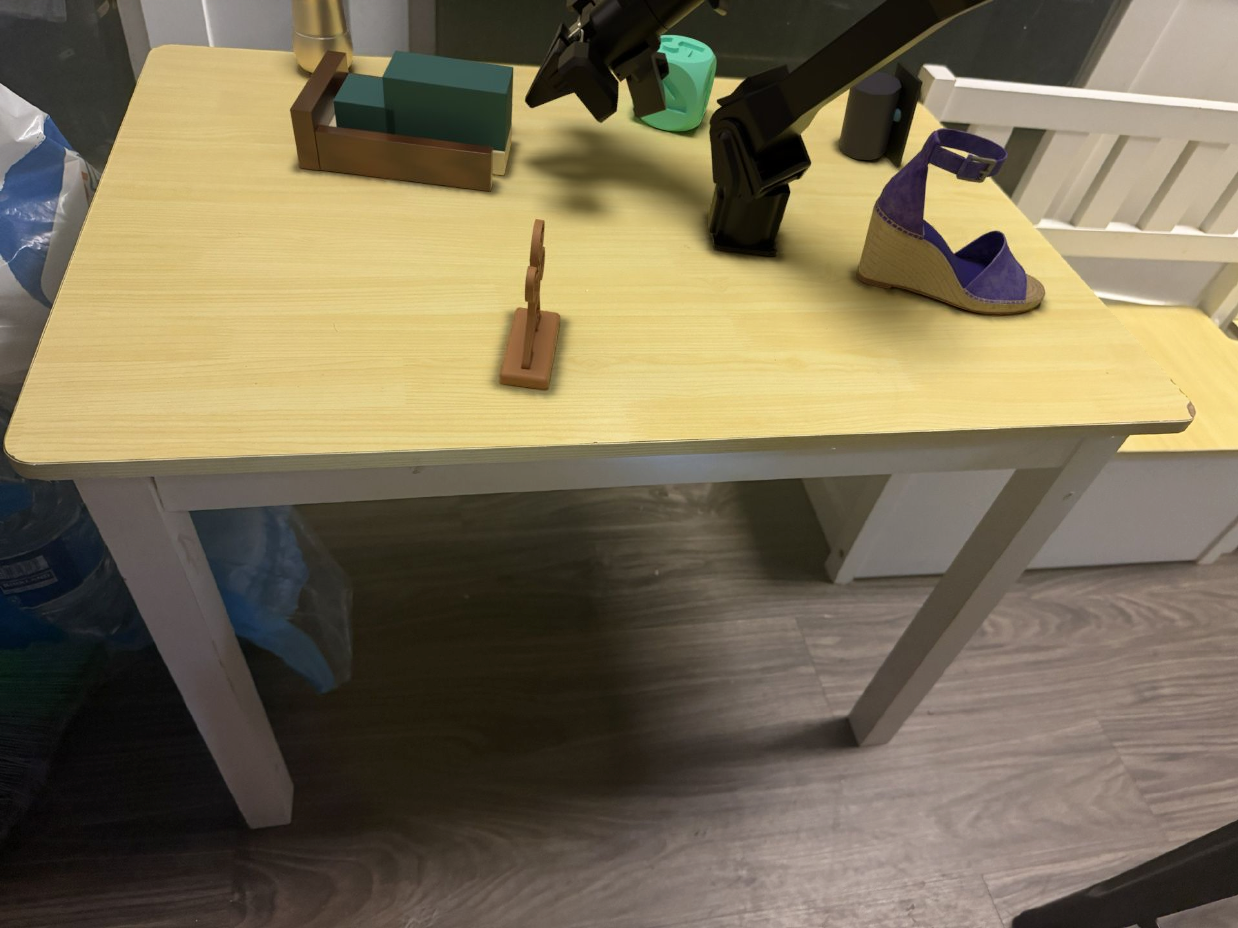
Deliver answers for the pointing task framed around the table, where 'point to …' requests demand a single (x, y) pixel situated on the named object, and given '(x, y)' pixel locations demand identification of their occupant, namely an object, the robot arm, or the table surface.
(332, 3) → the gold rounded cylinder
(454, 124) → the teal stepped block
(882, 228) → the sandal
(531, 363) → the gingerbread man figurine
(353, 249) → the table surface
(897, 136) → the speaker
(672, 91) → the decorative dice
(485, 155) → the wooden bed frame
